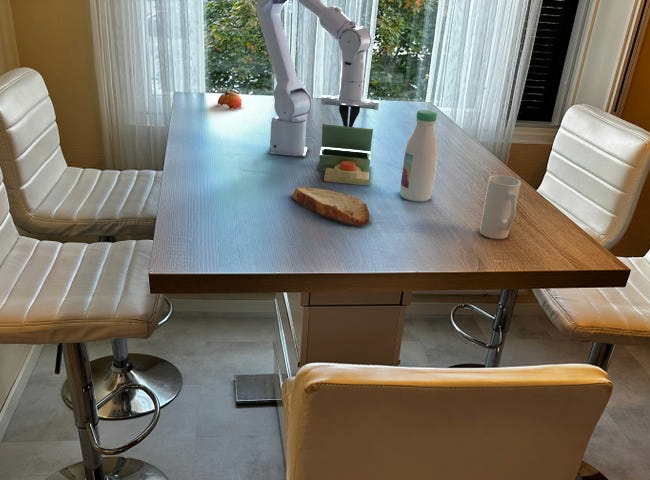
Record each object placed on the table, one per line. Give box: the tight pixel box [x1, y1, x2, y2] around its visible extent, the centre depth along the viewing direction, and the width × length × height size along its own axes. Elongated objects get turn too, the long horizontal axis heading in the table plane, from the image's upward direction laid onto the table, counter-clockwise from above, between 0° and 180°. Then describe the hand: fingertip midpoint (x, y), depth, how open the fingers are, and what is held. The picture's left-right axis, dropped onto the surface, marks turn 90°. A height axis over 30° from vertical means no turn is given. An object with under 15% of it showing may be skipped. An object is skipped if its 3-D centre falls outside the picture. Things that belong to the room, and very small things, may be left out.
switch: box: [340, 161, 355, 171], centre depth 174 cm, size 4×4×2 cm
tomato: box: [217, 90, 243, 110], centre depth 228 cm, size 8×7×7 cm
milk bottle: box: [399, 109, 439, 202], centre depth 165 cm, size 8×8×20 cm
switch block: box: [323, 165, 370, 186], centre depth 176 cm, size 11×7×3 cm, turn 88°
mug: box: [479, 174, 522, 240], centre depth 149 cm, size 10×7×12 cm, turn 15°
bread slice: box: [291, 187, 370, 227], centre depth 156 cm, size 18×18×4 cm
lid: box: [321, 123, 374, 152], centre depth 181 cm, size 8×13×1 cm
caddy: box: [318, 146, 371, 173], centre depth 183 cm, size 7×13×4 cm, turn 88°
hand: (347, 135), depth 182 cm, fingers closed
